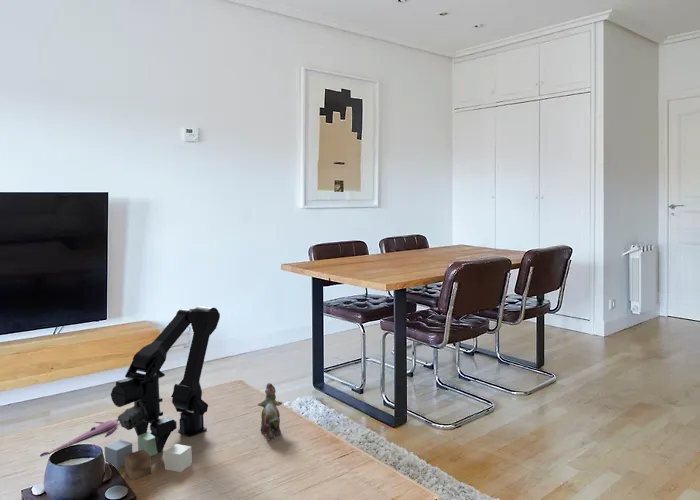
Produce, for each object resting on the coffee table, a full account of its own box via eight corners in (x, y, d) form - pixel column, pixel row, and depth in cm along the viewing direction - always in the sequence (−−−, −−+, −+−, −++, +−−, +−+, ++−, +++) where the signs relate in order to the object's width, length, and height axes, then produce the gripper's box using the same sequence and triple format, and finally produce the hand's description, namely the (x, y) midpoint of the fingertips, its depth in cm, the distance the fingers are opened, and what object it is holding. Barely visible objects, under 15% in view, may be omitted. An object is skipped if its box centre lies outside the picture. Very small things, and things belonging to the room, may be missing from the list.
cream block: (176, 461, 154) (176, 443, 154) (191, 464, 153) (191, 446, 152) (164, 469, 150) (164, 451, 149) (180, 472, 148) (179, 454, 148)
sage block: (154, 446, 164) (153, 430, 163) (163, 451, 161) (162, 434, 160) (138, 452, 160) (137, 435, 159) (147, 457, 157) (146, 440, 156)
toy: (111, 410, 184) (133, 419, 180) (111, 416, 184) (133, 426, 180) (30, 447, 159) (53, 459, 155) (30, 455, 160) (53, 467, 155)
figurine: (285, 426, 178) (284, 380, 176) (277, 442, 166) (276, 393, 165) (261, 425, 179) (261, 379, 177) (251, 441, 167) (250, 392, 165)
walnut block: (143, 467, 151) (142, 449, 151) (151, 473, 147) (150, 455, 147) (125, 473, 148) (124, 455, 147) (132, 480, 144) (131, 461, 144)
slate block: (120, 456, 157) (120, 439, 157) (132, 460, 155) (132, 443, 154) (105, 463, 153) (104, 446, 153) (117, 468, 151) (116, 450, 150)
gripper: (105, 395, 159) (107, 448, 160) (139, 411, 147) (141, 468, 148) (141, 385, 167) (143, 435, 168) (176, 399, 155) (178, 453, 157)
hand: (150, 448), depth 160 cm, fingers open, 9 cm apart
